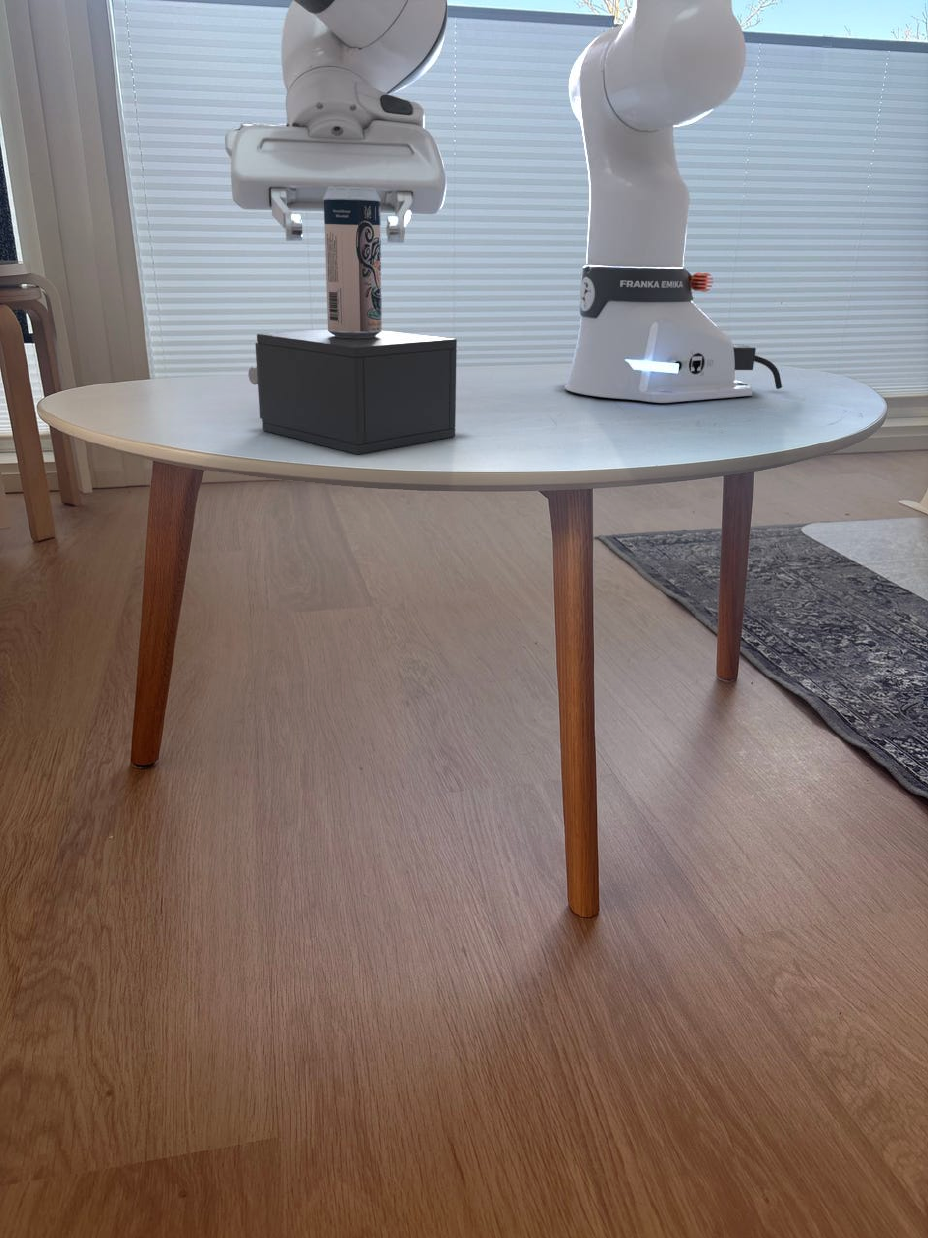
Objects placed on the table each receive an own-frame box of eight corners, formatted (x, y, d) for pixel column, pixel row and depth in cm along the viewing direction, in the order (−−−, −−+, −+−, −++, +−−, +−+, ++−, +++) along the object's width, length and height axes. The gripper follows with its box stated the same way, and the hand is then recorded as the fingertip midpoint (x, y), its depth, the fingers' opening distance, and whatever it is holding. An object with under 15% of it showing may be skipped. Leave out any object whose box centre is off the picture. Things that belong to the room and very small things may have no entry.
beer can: (379, 339, 80) (377, 185, 75) (324, 338, 80) (318, 184, 75) (384, 334, 84) (383, 188, 80) (332, 332, 84) (327, 187, 80)
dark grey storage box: (262, 430, 86) (256, 333, 83) (359, 416, 94) (356, 327, 90) (357, 454, 77) (355, 347, 74) (455, 436, 85) (457, 338, 82)
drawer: (235, 412, 89) (230, 338, 87) (321, 401, 96) (319, 333, 94) (345, 438, 79) (343, 355, 76) (433, 424, 86) (433, 347, 83)
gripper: (221, 94, 86) (228, 206, 81) (438, 104, 90) (457, 212, 85) (226, 151, 92) (232, 260, 87) (430, 159, 96) (447, 263, 91)
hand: (346, 236), depth 86 cm, fingers open, 8 cm apart
